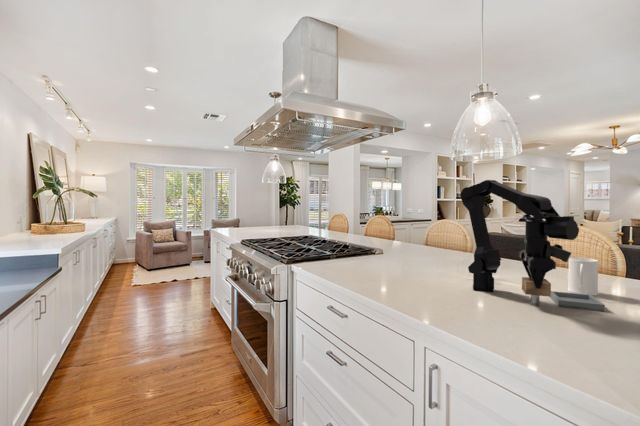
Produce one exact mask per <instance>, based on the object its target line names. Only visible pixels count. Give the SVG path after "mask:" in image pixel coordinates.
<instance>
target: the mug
mask: <svg viewBox="0 0 640 426" xmlns="http://www.w3.org/2000/svg"><path fill="white" fill-rule="evenodd" d="M567 282H568V285H567V291H568V293H578V294H589V295H592V296H593V297H595V296H599V295H600V294H599V260H597V259H593V258H588V257H587V258H586V257H569V259H568V281H567Z"/></svg>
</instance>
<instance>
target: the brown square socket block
mask: <svg viewBox="0 0 640 426" xmlns="http://www.w3.org/2000/svg"><path fill="white" fill-rule="evenodd" d="M521 290H522V291H523V293H524V294H525V295H529V296H531V295H538V296H540V297H549V298H550V297H551V291H552V283H551V282H549V280H547V279H546V278H544V279H543V282H542V285H541V288H540V289H538V288H536V287H535V284H534V282H533V279H532V278H529V276H523V277H522V276H521Z"/></svg>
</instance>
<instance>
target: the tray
mask: <svg viewBox="0 0 640 426" xmlns="http://www.w3.org/2000/svg"><path fill="white" fill-rule="evenodd" d="M549 298H550V299H551V300H552V302H554V303H555V304H556V305H557V307H559V308H568V309H569V308H570V309H576V310H577V309H578V310H589V311H597V312H605V311H606V304H605V303H603V302H601V301H600V300H599V299H597V298H596V297H595V296H592V295H589V294H578V293H572V292H567V291H566V292H563V291H553V290H551V297H549Z"/></svg>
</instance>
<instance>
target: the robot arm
mask: <svg viewBox="0 0 640 426" xmlns="http://www.w3.org/2000/svg"><path fill="white" fill-rule="evenodd" d="M491 194H493V195H495V196H497V197H499V198H501V199H503V200H506V201H508V202H510V203H512V204H513V205H514V206H516V208H517V209H518V210H519V211H521V212H522V213H524V215H523V216H522V217H520V218H519V219H518V222H520V223H525V237H524V238H523V242H524V246H525V247H524V248H525V249H522V250H521V251H519V258H520V259H521V263H522V265H523V267H524V270H525V272H526V274H527V277H528V278H532V279H533V282H534V284H535V287H536V288H538V289H540V288H541V285H542V282H543V279H545V276H546V274H547V273H548V272H550V271H552V270H556V269H557V262H556V261H555V260H554V259H553V258H555V259H558V260H561V262H564V263H568V262H569V258H571V255H572V252H570V251H568V250H565V249H564V248H563V245H560V244H558V243H555V244H553V245H552V244H551V241H550V240H549V239H558V240H567V241H568V240H569V241H574V240H576V239H577V238H578V235H579V234H580V233H579V232H580V227H579V225H578V223H577V222H576V220H575V217H574V216H573V215H564V216H560V214H559V213H558V212H557V211H556V209H555V207H554V206H553V205H552V201H551V200H550V199H549V197H545V196H541V195H537V194H529V193H525V192H522V191H520V190H517V189H515V188H513V187H511V186H508V185H506V184H503V183H501V182H499V181H497V180H495V179H486V180H483V181H481V182H479V183H476V184H474V185H471V186H469V187H468V186H467V187H464V188H463V189H462V190H461V192H460V194H459V195H460V199H461V203H462V205H463V206H464V207H465V208H466V210H467V211H468V214H469V218H470V224H471V228H472V232H473V237H474V241H475V242H474V243H475V247H476V248H475V251H474V253H473V262H472V263H471V264H470V265H469V266H468V267H467V269H468V272H469V274H472V290H474V291H478V292H479V291H481V292H489V293H490V292H491V293H493V292H494V290H495V278H494V276H493V274H497V272H498V269H499V268H500V266H501V261H502V258H501V255H500V250H499V249H495V248H494V247H493V246H492V244H491V240H490V239H491V238H490V235H489V230H488V225H487V221H486V217H485V213H484V212H485V211H484V205H485V203H486V197H488V196H490V195H491ZM548 238H549V239H548ZM551 257H552V258H551Z"/></svg>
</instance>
